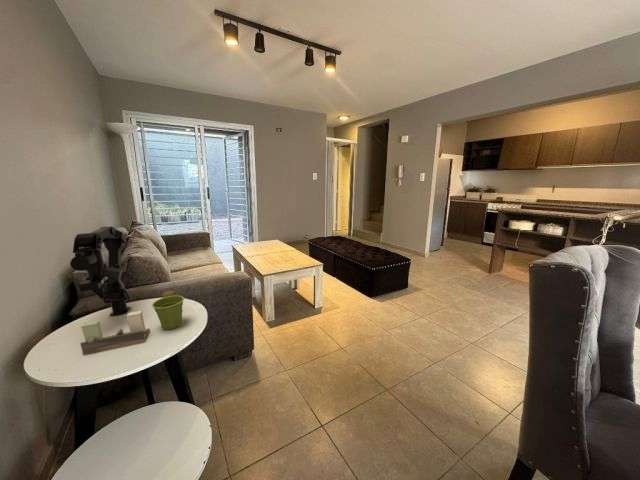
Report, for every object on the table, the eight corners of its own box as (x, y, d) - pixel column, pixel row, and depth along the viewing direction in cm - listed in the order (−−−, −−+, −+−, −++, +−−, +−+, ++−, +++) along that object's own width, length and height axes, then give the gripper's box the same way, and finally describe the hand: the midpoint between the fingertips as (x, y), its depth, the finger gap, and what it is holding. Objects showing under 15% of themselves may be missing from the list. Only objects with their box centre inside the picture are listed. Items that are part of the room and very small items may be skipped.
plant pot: (189, 326, 107) (185, 302, 105) (156, 336, 101) (151, 311, 99) (186, 315, 117) (182, 292, 115) (156, 323, 111) (151, 299, 108)
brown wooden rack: (93, 342, 99) (90, 329, 97) (150, 331, 105) (147, 319, 104) (82, 355, 91) (78, 342, 90) (144, 342, 97) (141, 330, 96)
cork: (164, 317, 115) (160, 295, 113) (165, 312, 121) (161, 290, 118) (179, 314, 118) (175, 292, 116) (179, 308, 123) (176, 287, 121)
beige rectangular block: (133, 332, 101) (128, 312, 99) (145, 329, 103) (141, 310, 101) (130, 335, 99) (126, 316, 97) (144, 333, 100) (139, 313, 98)
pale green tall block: (90, 343, 95) (84, 323, 93) (104, 340, 96) (99, 320, 94) (86, 347, 93) (81, 326, 91) (101, 344, 94) (96, 323, 92)
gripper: (109, 267, 98) (117, 304, 102) (125, 254, 115) (132, 286, 119) (72, 271, 94) (82, 309, 98) (95, 258, 111) (103, 291, 115)
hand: (102, 298), depth 107 cm, fingers closed
